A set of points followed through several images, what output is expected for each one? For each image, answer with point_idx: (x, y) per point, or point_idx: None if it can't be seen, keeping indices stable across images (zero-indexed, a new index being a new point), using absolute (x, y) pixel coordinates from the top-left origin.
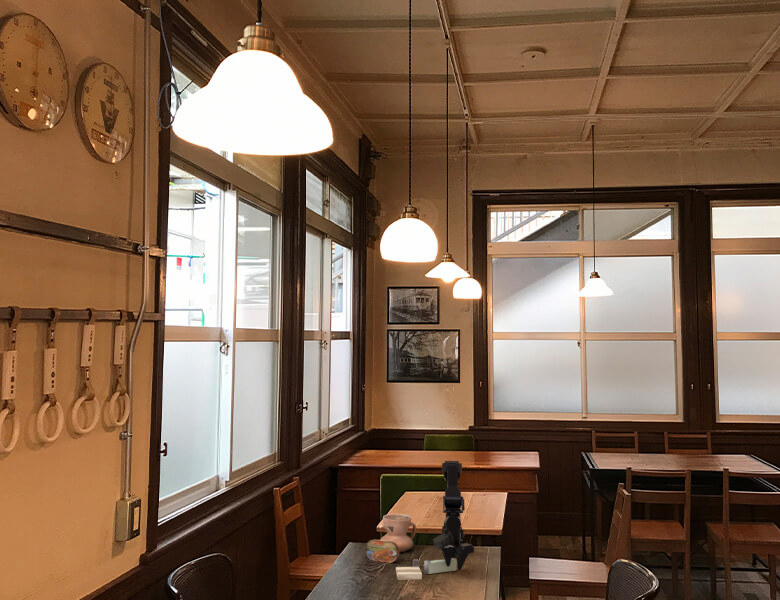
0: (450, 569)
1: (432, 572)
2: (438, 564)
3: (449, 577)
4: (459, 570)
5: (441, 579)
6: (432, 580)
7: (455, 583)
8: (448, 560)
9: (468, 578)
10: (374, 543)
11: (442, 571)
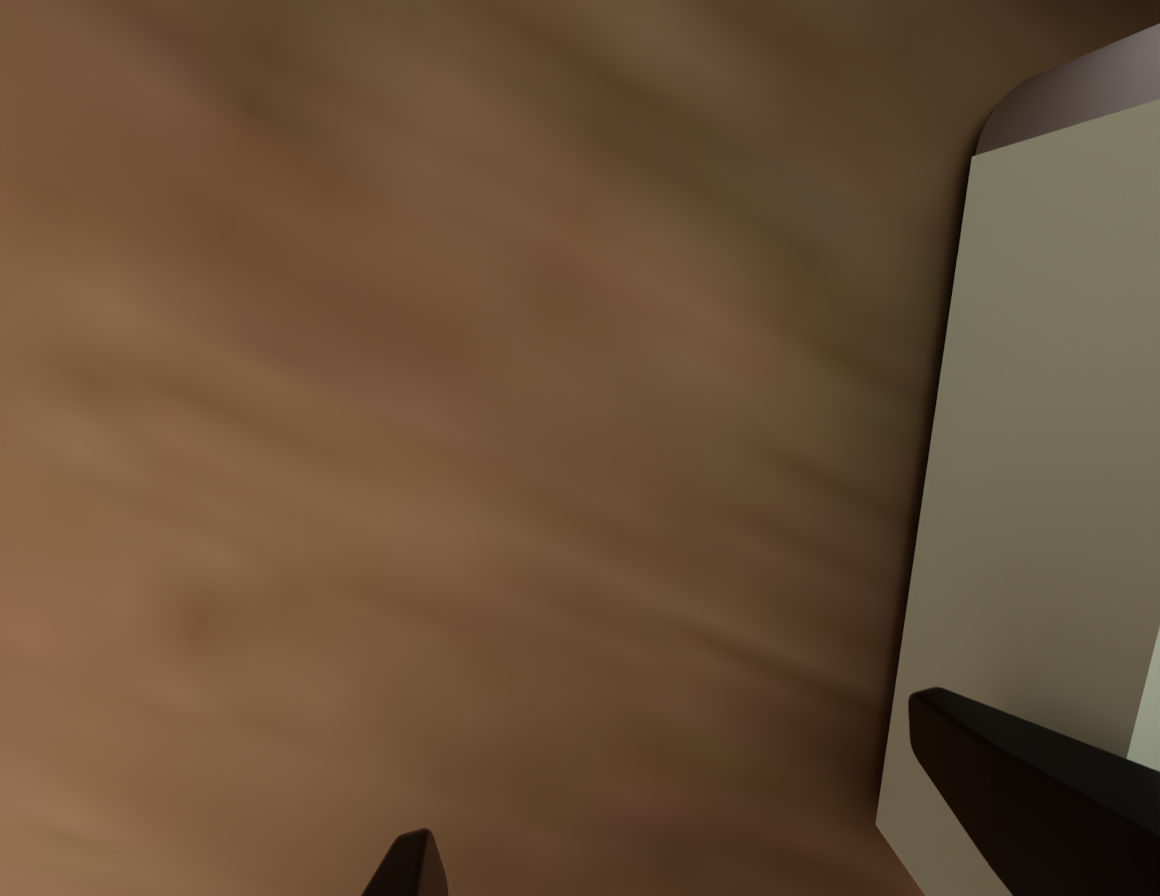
0: None
1: (971, 268)
2: (1104, 484)
3: (578, 540)
4: (402, 854)
5: (511, 300)
6: (517, 25)
7: (113, 491)
8: (1058, 864)
9: None
10: None
11: (926, 533)
